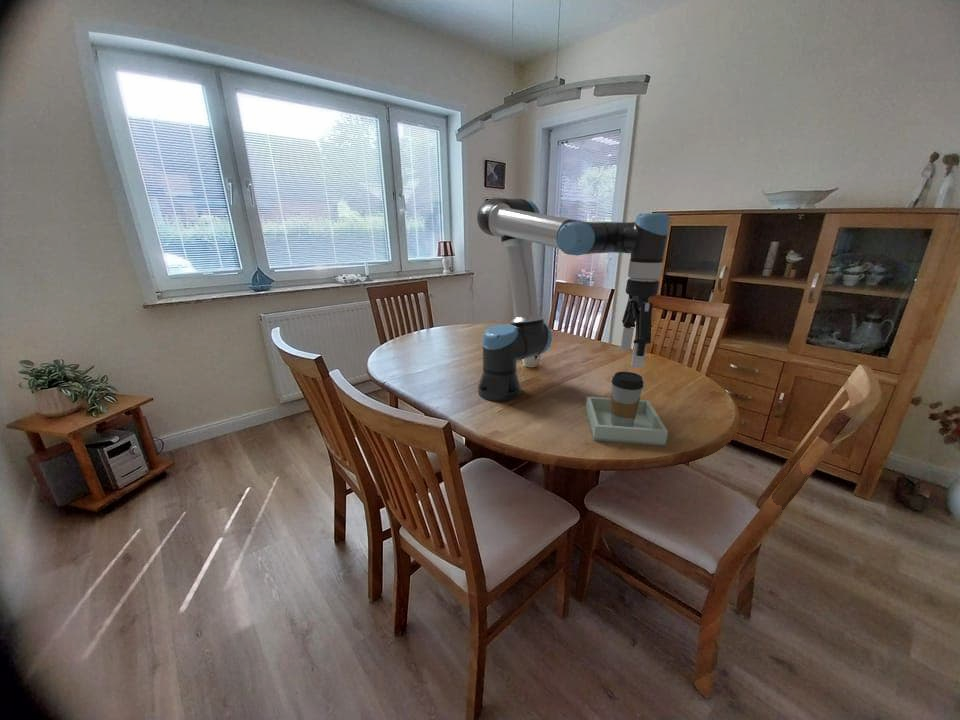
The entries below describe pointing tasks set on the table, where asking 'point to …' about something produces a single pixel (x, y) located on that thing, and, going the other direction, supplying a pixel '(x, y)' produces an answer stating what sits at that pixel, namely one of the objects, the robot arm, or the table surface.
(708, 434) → the table surface
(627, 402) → the coffee cup
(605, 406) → the tray
